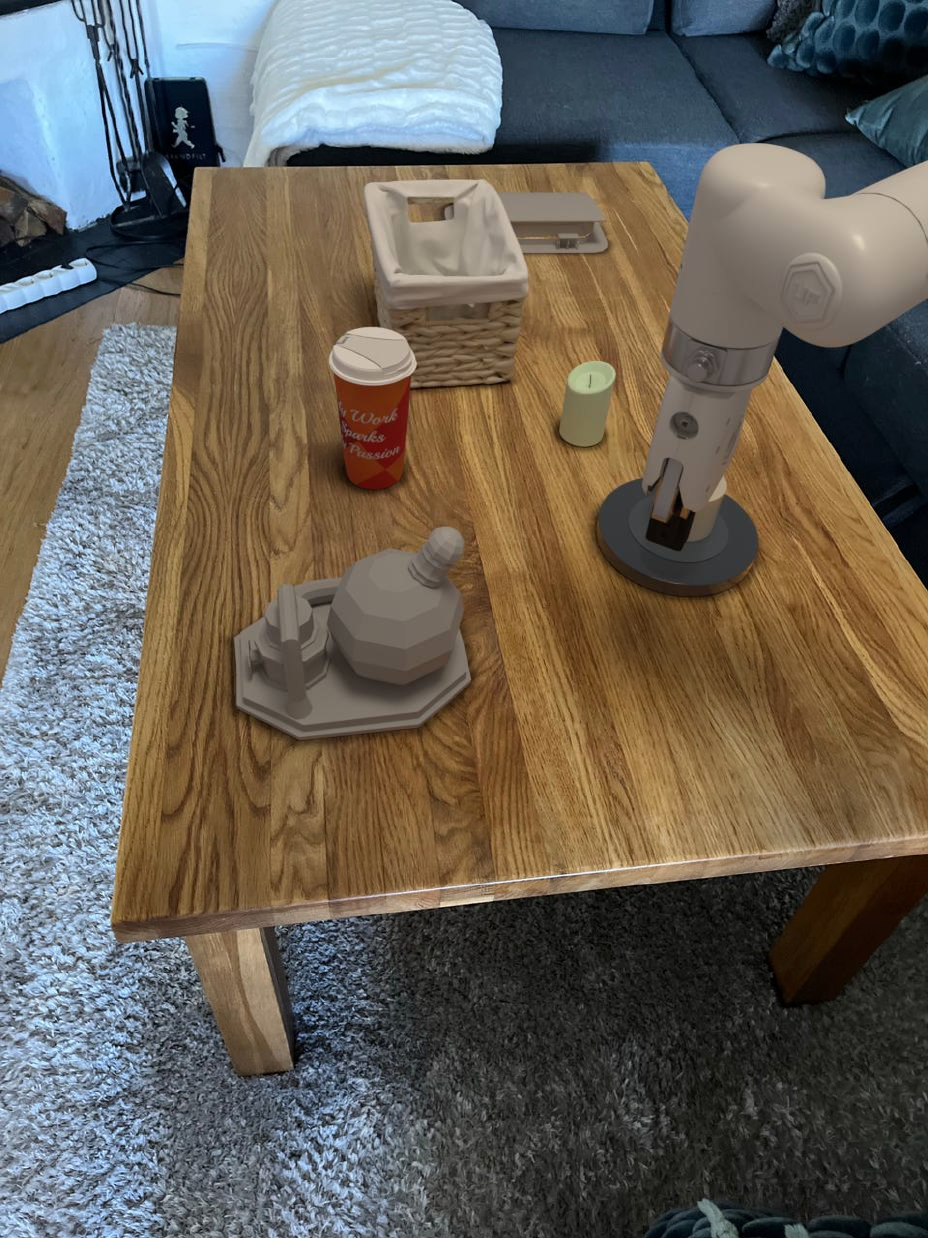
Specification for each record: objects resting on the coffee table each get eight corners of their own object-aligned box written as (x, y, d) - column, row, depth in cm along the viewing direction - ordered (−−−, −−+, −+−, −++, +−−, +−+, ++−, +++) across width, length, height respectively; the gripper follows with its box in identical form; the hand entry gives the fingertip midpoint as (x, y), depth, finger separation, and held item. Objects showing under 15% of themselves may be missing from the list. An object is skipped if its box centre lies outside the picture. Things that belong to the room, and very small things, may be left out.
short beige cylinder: (721, 512, 95) (735, 472, 91) (702, 550, 91) (716, 510, 88) (662, 491, 97) (673, 451, 93) (641, 527, 93) (651, 487, 89)
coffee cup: (321, 483, 97) (312, 358, 86) (357, 439, 103) (352, 315, 91) (395, 506, 96) (394, 381, 84) (427, 460, 101) (431, 336, 90)
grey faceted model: (449, 587, 89) (457, 459, 77) (481, 719, 79) (496, 595, 67) (233, 609, 85) (208, 478, 74) (238, 749, 75) (210, 623, 64)
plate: (771, 519, 98) (776, 507, 96) (728, 619, 88) (733, 607, 87) (628, 469, 102) (630, 456, 100) (571, 559, 92) (574, 546, 91)
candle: (572, 451, 103) (584, 388, 97) (551, 425, 106) (560, 362, 100) (611, 441, 105) (624, 378, 99) (588, 416, 108) (600, 353, 102)
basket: (521, 391, 110) (535, 273, 99) (384, 399, 108) (383, 279, 97) (484, 286, 126) (492, 175, 115) (363, 291, 123) (360, 178, 112)
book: (612, 252, 134) (617, 225, 131) (453, 253, 131) (454, 226, 128) (590, 203, 144) (594, 177, 141) (442, 203, 141) (443, 177, 138)
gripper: (739, 415, 59) (678, 614, 72) (800, 311, 68) (736, 505, 81) (628, 379, 61) (589, 579, 74) (701, 283, 70) (655, 476, 84)
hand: (666, 540), depth 78 cm, fingers closed
